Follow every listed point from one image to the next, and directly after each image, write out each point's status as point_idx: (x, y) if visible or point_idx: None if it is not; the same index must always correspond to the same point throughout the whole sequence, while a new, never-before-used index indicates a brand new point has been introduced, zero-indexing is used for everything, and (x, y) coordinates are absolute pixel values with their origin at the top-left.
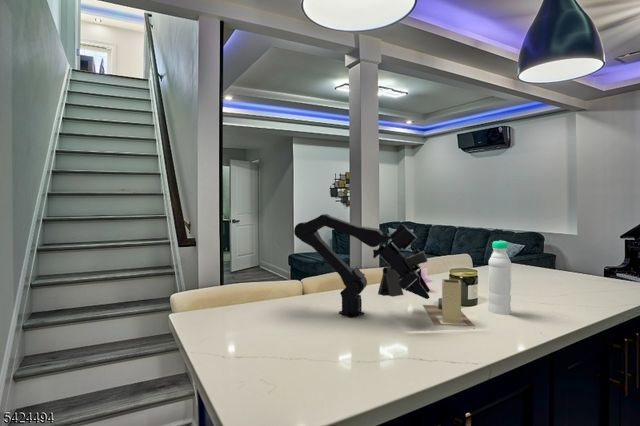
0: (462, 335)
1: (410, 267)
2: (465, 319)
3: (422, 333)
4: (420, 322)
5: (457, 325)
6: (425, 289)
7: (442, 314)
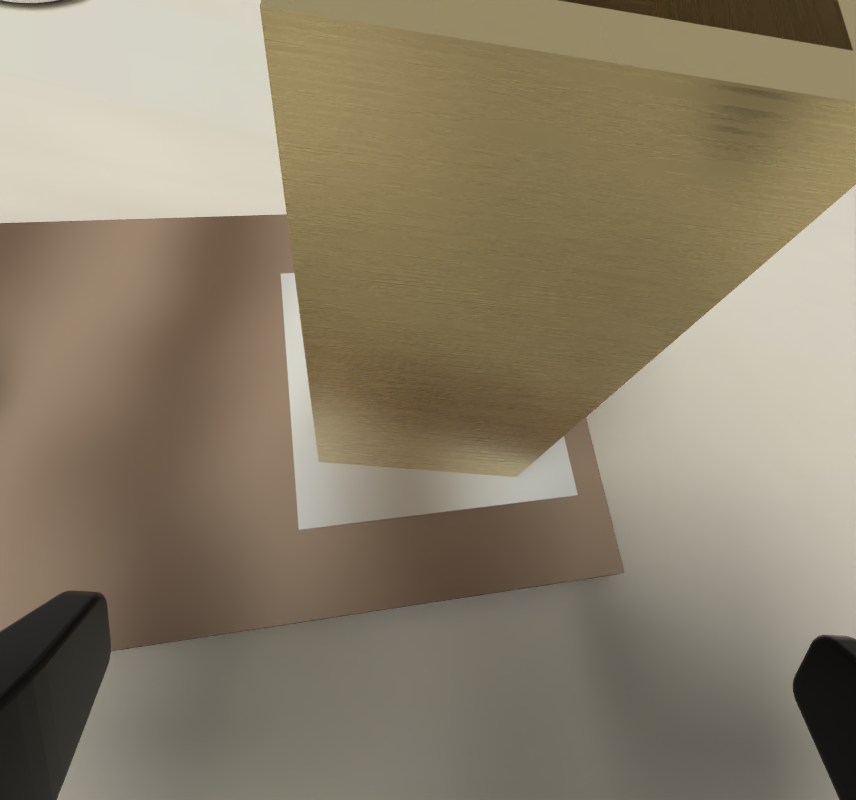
0: (726, 348)
1: None
2: None
3: None
4: (486, 746)
5: None
6: (57, 739)
7: (522, 453)
